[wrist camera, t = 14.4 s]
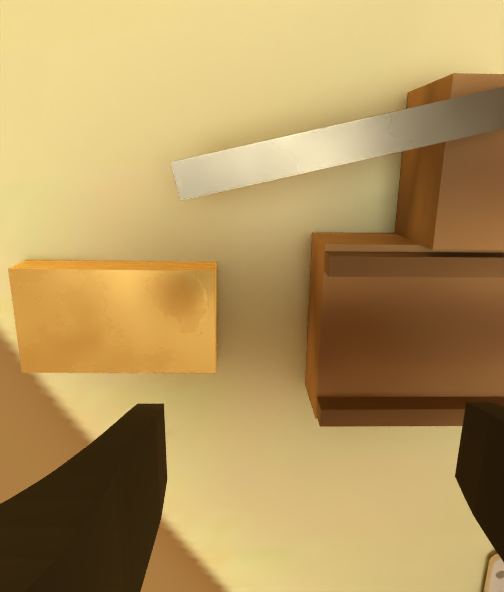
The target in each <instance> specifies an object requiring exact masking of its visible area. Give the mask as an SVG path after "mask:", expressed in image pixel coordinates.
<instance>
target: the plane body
mask: <svg viewBox="0 0 504 592" xmlns="http://www.w3.org/2000/svg"><path fill="white" fill-rule="evenodd" d="M503 86H504V74H456V73H453V74H451V75H449V76H446V77H444V78H442V79H439V80H437V81H434V82H432V83H430V84H427V85H425V86H423V87H420V88H418V89H416V90H413V91H411V92H408V99H407V109H408V108H412V107H417V106H421V105H425V104H430V103H434V102H439V101H443V100H448V99H452V98H456V97H461V96H465V95H470V94H474V93H479V92H483V91H487V90H492V89H496V88H499V87H503ZM305 385H306V389H307V392H308V395H309V399H310V402H311V405H312V408H313V412H314V415H315V418H318V421H319V425H320V426H463V420H464V413H465V406H466V402H492V403H495V404H498V405H501V406H503V407H504V129H500V130H495V131H491V132H486V133H482V134H477V135H473V136H469V137H464V138H460V139H455V140H451V141H446V142H442V143H437V144H433V145H428V146H424V147H419V148H415V149H410V150H406V151H403V152H402V163H401V173H400V184H399V194H398V205H397V215H396V226H395V233H312V250H311V271H310V293H309V314H308V335H307V357H306V378H305Z"/></svg>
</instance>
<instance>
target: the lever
mask: <svg viewBox="0 0 504 592" xmlns="http://www.w3.org/2000/svg"><path fill="white" fill-rule="evenodd" d="M500 129H504V86H503V87H499V88H496V89H492V90H487V91H483V92H479V93H474V94H470V95H465V96H461V97H456V98H452V99H448V100H443V101H439V102H434V103H430V104H425V105H421V106H417V107H412V108H408V109H403V110H399V111H394V112H390V113H386V114H381V115H377V116H372V117H368V118H364V119H359V120H355V121H350V122H346V123H341V124H337V125H333V126H328V127H324V128H319V129H315V130H310V131H306V132H302V133H297V134H293V135H288V136H284V137H279V138H275V139H271V140H266V141H262V142H257V143H253V144H248V145H244V146H240V147H235V148H231V149H226V150H222V151H217V152H213V153H209V154H204V155H200V156H195V157H191V158H187V159H182V160H178V161H173V162H171V166H172V170H173V174H174V178H175V182H176V186H177V190H178V194H179V197H180V201H182V200H186V199H191V198H195V197H200V196H204V195H209V194H213V193H218V192H222V191H227V190H231V189H236V188H240V187H244V186H249V185H253V184H258V183H262V182H267V181H271V180H276V179H280V178H285V177H289V176H294V175H298V174H303V173H307V172H312V171H316V170H321V169H325V168H330V167H334V166H339V165H343V164H348V163H352V162H356V161H361V160H365V159H370V158H374V157H379V156H383V155H388V154H392V153H397V152H401V151H406V150H410V149H415V148H419V147H424V146H428V145H433V144H437V143H442V142H446V141H451V140H455V139H460V138H464V137H469V136H473V135H477V134H482V133H486V132H491V131H495V130H500Z"/></svg>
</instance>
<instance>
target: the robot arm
mask: <svg viewBox="0 0 504 592" xmlns="http://www.w3.org/2000/svg"><path fill="white" fill-rule="evenodd" d="M455 477H456V479H457V482H458V484H459V486H460V488H461V490H462V493H463V495H464V497H465V499H466V501H467V503H468V505H469V507H470V509H471V511H472V513H473V515H474V517H475V519H476V520H477V522H478V523H479V525H480V527H481V528H482V530H483V531H484V533H485V534H486V536H487V537H488V539H489V541H490V542H491V544H492V545H493V547H494V548H495V550H496V551H497V553H498V554H495V555H493V556H492V557H491V558H490V561H489V565H488V570H487V576H486V581H485V587H484V592H504V407H503V406H501V405H498V404H495V403H492V402H466V406H465V413H464V420H463V427H462V433H461V440H460V447H459V454H458V460H457V467H456V474H455ZM166 483H167V464H166V442H165V420H164V404H137V405H136V406H134V407H133V408H132V409H131V410H130V411H128V412H127V413H126V414H125V415H124V416H123V417H121V418H120V419H119V420H118V421H117V422H116V423H115V424H113V425H112V426H111V427H110V428H109V429H108V430H106V431H105V432H104V433H103V434H102V435H100V436H99V437H98V438H97V439H96V440H94V441H93V442H92V443H91V444H89V445H88V446H87V447H86V448H84V449H83V450H82V451H80V452H79V453H78V454H76V455H75V456H74V457H72V458H71V459H70V460H68V461H67V462H66V463H64V464H63V465H62V466H60V467H59V468H57V469H56V470H55V471H53V472H52V473H50V474H49V475H47V476H46V477H44V478H43V479H41V480H40V481H38V482H37V483H35V484H33V485H32V486H30V487H28V488H27V489H25V490H24V491H22V492H20V493H19V494H17V495H15V496H14V497H12V498H10V499H9V500H7V501H5V502H3V503H1V504H0V592H140V591H141V587H142V584H143V581H144V577H145V574H146V570H147V567H148V563H149V559H150V556H151V553H152V549H153V545H154V542H155V538H156V535H157V531H158V528H159V524H160V520H161V515H162V509H163V503H164V497H165V490H166ZM498 571H499V572H498Z"/></svg>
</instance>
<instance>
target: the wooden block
mask: <svg viewBox="0 0 504 592" xmlns="http://www.w3.org/2000/svg"><path fill="white" fill-rule="evenodd" d="M8 271H9V279H10V286H11V294H12V301H13V309H14V316H15V324H16V331H17V339H18V346H19V354H20V361H21V369H22V373H216V364H217V262H156V261H62V260H26V261H23V262H21V263H19V264H17V265H15V266H13V267H11V268H9V269H8Z"/></svg>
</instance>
